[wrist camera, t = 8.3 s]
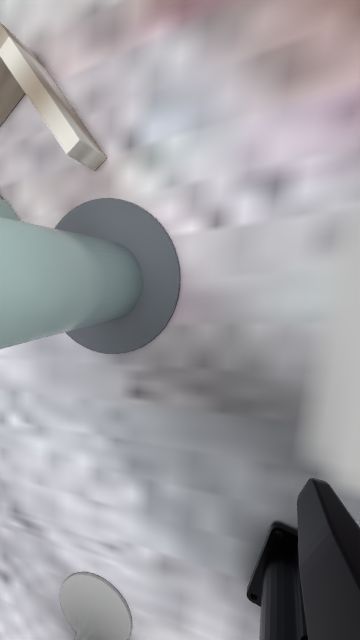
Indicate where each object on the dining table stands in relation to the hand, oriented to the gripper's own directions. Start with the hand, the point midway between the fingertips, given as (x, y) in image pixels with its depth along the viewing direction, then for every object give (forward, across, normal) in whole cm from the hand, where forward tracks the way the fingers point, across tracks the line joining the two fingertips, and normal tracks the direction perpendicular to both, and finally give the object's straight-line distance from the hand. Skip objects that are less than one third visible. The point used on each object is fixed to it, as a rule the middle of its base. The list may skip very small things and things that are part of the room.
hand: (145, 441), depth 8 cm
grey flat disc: (+14, +6, +2) cm, 16 cm away
